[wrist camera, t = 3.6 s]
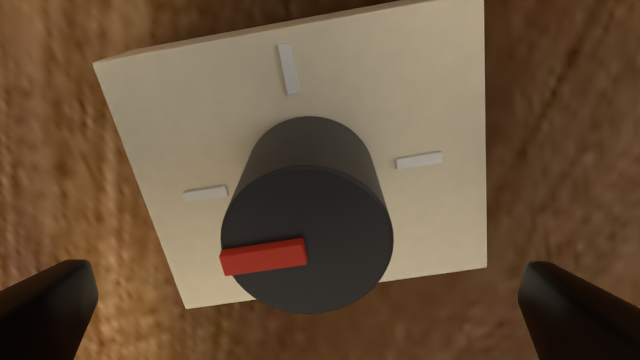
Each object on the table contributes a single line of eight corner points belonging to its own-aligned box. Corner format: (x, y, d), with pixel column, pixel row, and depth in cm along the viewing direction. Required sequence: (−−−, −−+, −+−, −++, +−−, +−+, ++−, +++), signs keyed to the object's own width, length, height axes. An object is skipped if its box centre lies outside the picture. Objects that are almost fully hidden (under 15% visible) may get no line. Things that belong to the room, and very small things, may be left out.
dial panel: (452, -10, 14) (486, -10, 11) (461, 224, 18) (489, 270, 15) (133, 49, 15) (87, 63, 12) (205, 262, 18) (184, 312, 15)
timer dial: (365, 104, 12) (386, 158, 8) (380, 221, 14) (404, 312, 10) (232, 126, 13) (194, 188, 9) (262, 239, 14) (241, 334, 10)
